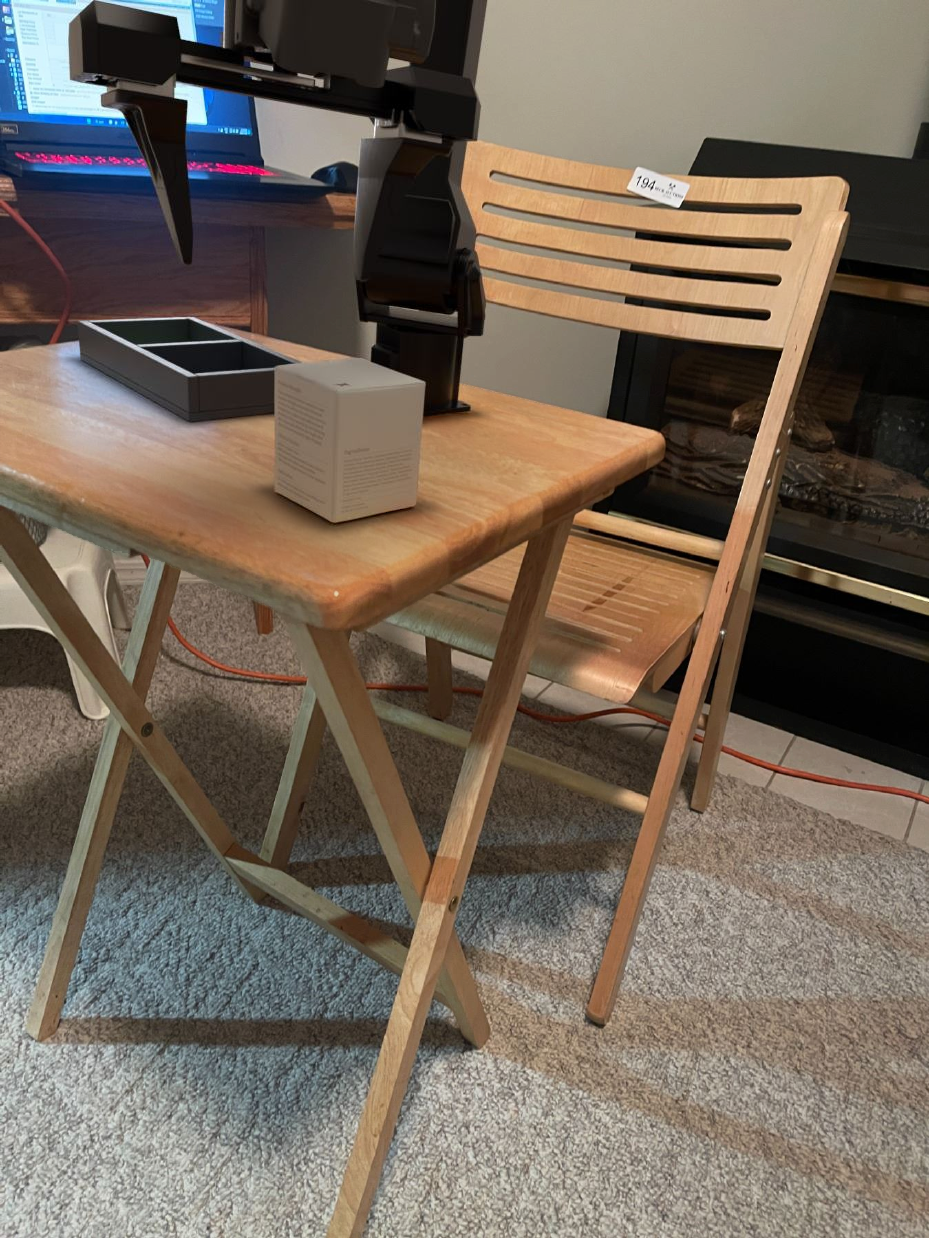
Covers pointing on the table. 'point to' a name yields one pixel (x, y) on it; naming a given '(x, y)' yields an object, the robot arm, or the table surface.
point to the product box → (347, 437)
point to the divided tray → (185, 365)
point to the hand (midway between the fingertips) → (277, 272)
